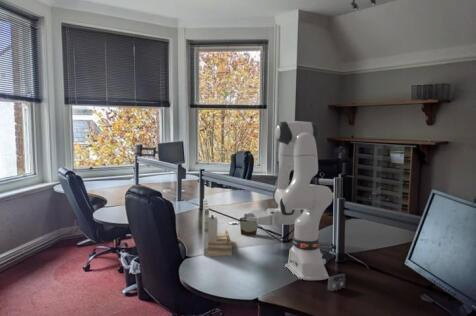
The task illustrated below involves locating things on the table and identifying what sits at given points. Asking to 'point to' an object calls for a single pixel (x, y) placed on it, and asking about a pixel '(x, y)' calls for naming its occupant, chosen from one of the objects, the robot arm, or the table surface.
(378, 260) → the table surface
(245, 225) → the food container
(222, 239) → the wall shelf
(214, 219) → the cabinet block
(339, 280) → the mini dv tape
